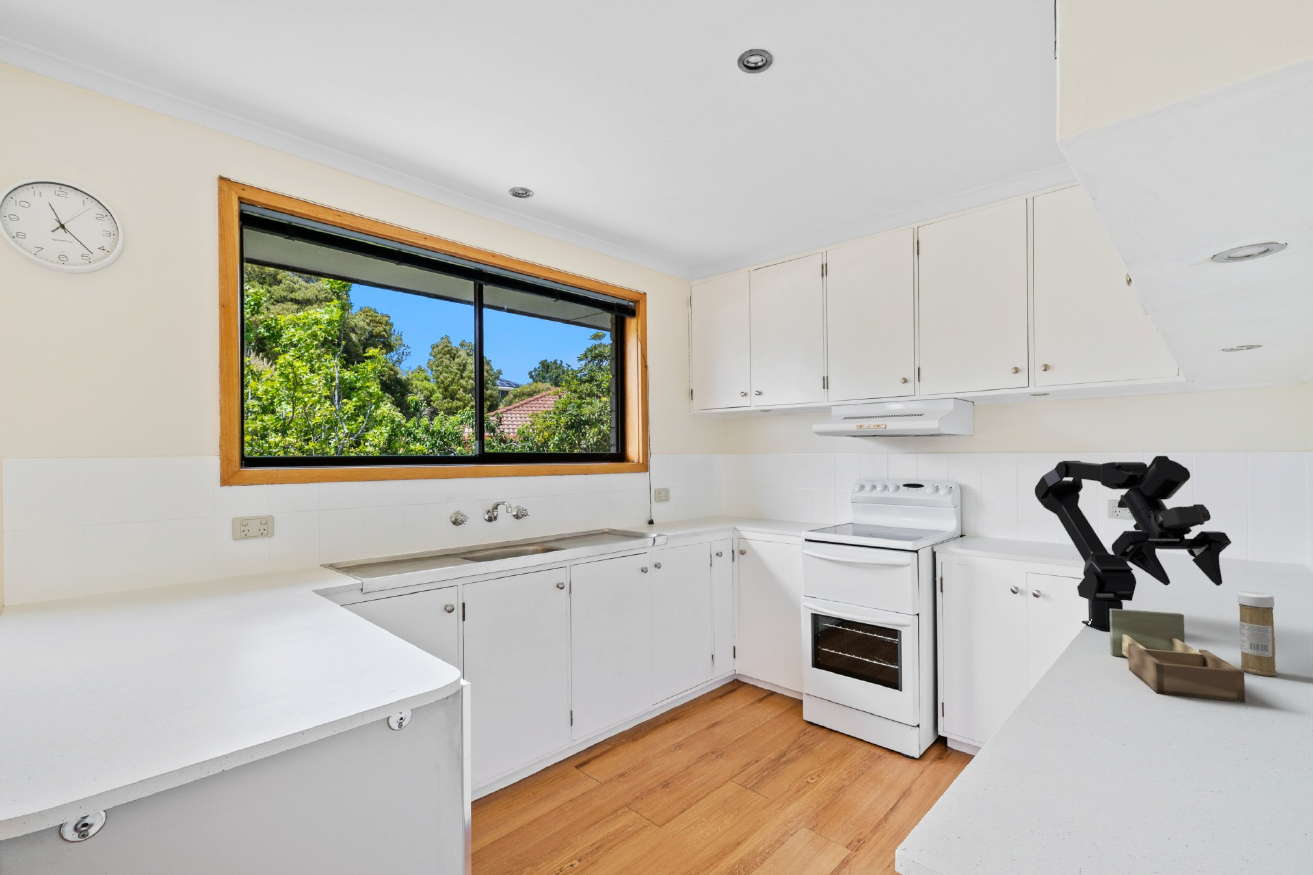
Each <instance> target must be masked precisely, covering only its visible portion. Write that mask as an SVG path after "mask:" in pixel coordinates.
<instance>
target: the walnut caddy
mask: <svg viewBox="0 0 1313 875" xmlns="http://www.w3.org/2000/svg"><path fill="white" fill-rule="evenodd" d="M1198 652H1199V653H1201V654H1203V664H1204V667H1200V666H1188V665H1177V664H1166V663H1160V662H1159V661H1158V660H1156V659H1155V658H1154V657H1152V656H1151V655H1149V654H1148V653H1147V652H1145V651H1144V650H1143V649H1141V648H1140V647H1138V646H1137V645H1136V644H1128V654H1129V659H1128V670H1129V671H1130V672H1131V673H1132V674H1133V675H1134V676H1136V677H1137V678H1138V679H1139V680H1140V681H1141V682H1143V683H1144V684H1145V685H1146V686H1147V687H1149V688H1150V689H1151V690H1152V691H1153V692H1154V693H1156V694H1159V695H1166V696H1167V695H1171V696H1177V697H1178V696H1179V697H1189V698H1199V699H1206V700H1208V699H1209V700H1217V701H1225V700H1226V702H1234V701H1238V702H1237V703H1244V702H1245V703H1246V691H1245V690H1246V688H1245V683H1246V682H1245V671H1244V670H1242V669H1240V668H1238V667H1236V666H1234V665H1233V664H1231V663H1229V662H1228V661H1226V660H1224V659H1222V658H1221V657H1219V656H1217V655H1216V654H1214V653H1212V652H1211V651H1209V650H1207V649H1201V648H1200V649H1198ZM1239 701H1240V702H1239Z"/></svg>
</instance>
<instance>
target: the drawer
mask: <svg viewBox="0 0 1313 875" xmlns="http://www.w3.org/2000/svg"><path fill="white" fill-rule="evenodd" d="M1109 632H1110V633H1109V634H1110V635H1109V636H1110V639H1109V640H1110V641H1109V642H1110V645H1109V646H1110V655H1111V656H1114V657H1125V658H1127V659H1128V660H1129V654H1128V644H1136V645H1137V646H1138V647H1140V648H1141V649H1143V650H1144V651H1145V652H1147V653H1148V654H1149V655H1151V656H1152V657H1154V658H1155V659H1156V660H1158V661H1159V662H1160V663H1166V664H1177V665H1188V666H1200V667H1204V664H1203V654H1201V653H1199V650H1196V649H1194V648H1193V647H1192V646H1189V645H1188V644H1186V643H1185V642H1186V641H1185V616H1184V613H1183V614H1182V613H1180V612H1179V613H1178V612H1165V611H1164V612H1163V611H1153V610H1152V611H1151V610H1150V611H1149V610H1137V609H1135V610H1134V609H1124V608H1123V609H1110V630H1109Z"/></svg>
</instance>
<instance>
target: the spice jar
mask: <svg viewBox="0 0 1313 875" xmlns="http://www.w3.org/2000/svg"><path fill="white" fill-rule="evenodd" d="M1237 603H1238V606H1239V636H1240V637H1239V641H1240V646H1239V647H1240V655H1241V656H1240V657H1241V662H1240V663H1241V665H1240V670H1241V671H1243V672H1246V673H1250V674H1253V675H1257V676H1265V677H1266V676H1267V677H1272V676H1276V675H1277V671H1276V637H1275V626H1274V625H1275V624H1274V623H1275V622H1274V612H1273V611H1274V607H1275V598H1274V596H1273V595H1272V594H1267V593H1264V592H1263V593H1262V592H1254V591H1239V592H1238V593H1237Z"/></svg>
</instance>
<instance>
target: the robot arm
mask: <svg viewBox="0 0 1313 875" xmlns="http://www.w3.org/2000/svg"><path fill="white" fill-rule="evenodd" d="M1065 478H1072V479H1071V480H1070V479H1069V480H1068V479H1065ZM1190 478H1191V473H1190V471H1189V469H1188V468H1187V467H1185V466H1183V464H1180V463H1179V462H1177V461H1175V460H1171V459H1170V458H1169V457H1168V456H1167V455H1155V457H1154V458H1153V459H1152V461H1151V463H1150V464H1149V465H1148V464H1147V463H1145V462H1143V461H1111V462H1110V461H1109V462H1104V463H1093V462H1085V461H1081V460H1061V461H1059V462H1058V463H1057V464H1056V466H1055V467H1054V468H1053V469H1051V470H1049V471H1048V472H1047V473H1045V474H1043V475H1042V476H1041V478H1040V479H1039V480H1038V482H1037V483H1036V485H1035V487H1034V495H1035V498H1036V499H1037V501H1038V502H1039V503H1040V504H1041V505H1042V506H1043V508H1044V509H1045V510H1048V511H1049V512H1051V513H1053V514H1055V515H1056V516H1057V518H1058V520H1059V521H1060V523H1061V525H1062V527H1063V528H1064V530H1065V531H1066V533H1067V535H1068V536H1069V538H1070V539H1071V541H1072V543H1073V544H1074V546H1075V548H1076V549H1077V551H1078V552H1079V555H1080V556H1081V557H1082V559H1083V561H1084V567H1083V572H1082V573H1083V579H1082V580H1081V582H1079V584H1078V586H1077V587H1076V588H1077V592H1078V597H1080V598H1083V599H1086V600H1088V601H1087V605H1088V620H1081V623H1082V624H1083V625H1086V626H1089V627H1091V626H1092V628H1094V629H1096V628H1097V629H1096V630H1100V631H1110V609H1123V610H1124V607H1123V606H1124V605H1123V604H1124V601H1127V602H1129V601H1130V602H1132V601H1133V598H1134V595H1135V590H1136V586H1137V579H1136V576H1135V574H1134V573H1133V570H1134V569H1133V567H1131V566H1130V565H1129V563H1130V564H1132V565H1134V566H1135V567H1137V568H1138V569H1141V570H1142V571H1144V572H1145V573H1147V574H1148V575H1150V576H1151V577H1152V578H1154V579H1156V581H1158V582H1160V583H1161V584H1162V585H1164V586H1168V585H1170V584H1171V580H1170V578H1169V576H1168V573H1167V572H1166V570H1165V568H1164V567H1163V565H1162V562H1161V561H1160V560H1159V558H1158V556H1157V554H1156V552H1157V551H1156V550H1176V551H1178V550H1181V551H1182V550H1186V551H1187V553H1188V554H1189V555H1190V557H1193V559H1192V560H1191V561H1192V562H1193V563H1194V564H1195V565H1196V566H1197V568H1199V570H1200V571H1202V573H1203V574H1205V576H1206V577H1207V578H1208V579H1209V580H1210V582H1212V583H1213V584H1214V585H1215V586H1217V587H1219V586H1221V585H1222V584H1223V577H1222V570H1221V565H1220V564H1221V563H1220V554H1221V553H1222V552H1223V551H1224V550H1225V549H1226V548H1228V547H1229V546H1230V545H1231V544H1232V541H1231V540H1230V538H1229V536H1228V535H1227V533H1226V532H1223V531H1220V530H1219V531H1217V530H1216V531H1211V530H1209V531H1208V530H1207V531H1205V530H1203V531H1200V532H1198V534H1196V535H1195V536H1194V537H1193V538H1186V535H1189V534H1190V533H1191V532H1193V531H1192V529H1191V528H1193V527H1196V526H1203V525H1205V522H1208V521H1210V520H1211V518H1212V517H1211V513H1210V511H1209V509H1208V508H1207V507H1206V506H1205V505H1204V504H1202V503H1201V504H1199V503H1197V504H1196V503H1194V504H1193V505H1188V506H1175V507H1174V506H1173V507H1170V508H1168V507H1167V506H1166V504H1165V503H1164V502H1163V501H1165V500H1169V499H1171V498H1172V497H1173V496H1174V495H1175V494H1176V493H1177V492H1178V491H1179V490H1180V489H1181V488H1182V487H1183V486H1184V485H1185V484H1186V483H1187V482H1188V481H1189V480H1190ZM1083 480H1086V481H1087V480H1088V481H1093V482H1094V481H1096V482H1099V483H1100V484H1101V486H1103V487H1106V488H1108V489H1111V490H1127V491H1126V492H1125V493H1124V494H1121V495H1120V499H1119V500H1118V502H1117V508H1118V509H1128V511H1129V512H1130V514H1131V516H1132V518H1133V519H1134V521H1135V523H1134V524H1133V526H1132V527H1133V529H1134V530H1124V531H1122V532H1121V534H1120V535H1119V536H1118V537H1117V538H1116V539H1115V540H1114V542H1113V543H1112V544H1111V551H1112V554H1111V553H1109V551H1108V550H1107V548H1106V547H1105V545H1104V544H1103V542H1102V541H1101V539H1100V537H1099V536H1098V534H1097V533H1096V532H1095V530H1094V528H1093V526H1092V525H1091V524H1090V522H1089V520H1088V519H1087V518H1086V515H1085V514H1084V513H1083V511H1082V510H1081V508H1080V506H1079V501H1080V496H1081V495H1080V492H1081V491H1082V490H1083V488H1084V485H1083ZM1128 562H1129V563H1128ZM1091 619H1092V621H1091ZM1089 621H1091V624H1090V625H1087V624H1088V623H1089Z"/></svg>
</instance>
